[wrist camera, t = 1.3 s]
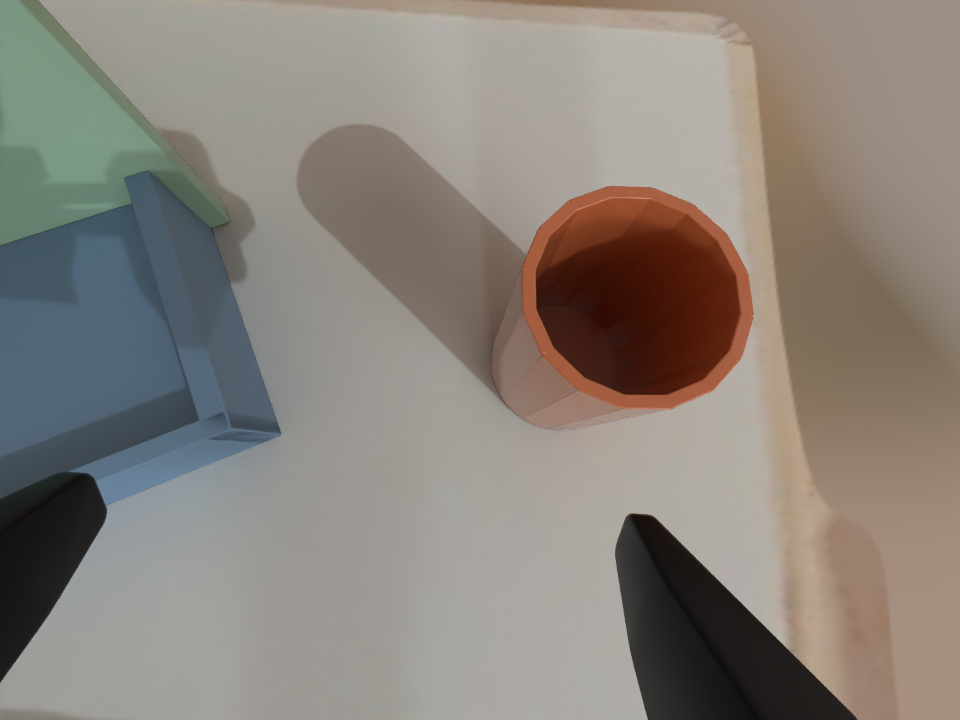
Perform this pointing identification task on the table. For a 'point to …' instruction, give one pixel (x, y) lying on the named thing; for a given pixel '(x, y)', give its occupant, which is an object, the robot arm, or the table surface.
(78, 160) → the door shelf
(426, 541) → the table surface
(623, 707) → the table surface
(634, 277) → the cup
